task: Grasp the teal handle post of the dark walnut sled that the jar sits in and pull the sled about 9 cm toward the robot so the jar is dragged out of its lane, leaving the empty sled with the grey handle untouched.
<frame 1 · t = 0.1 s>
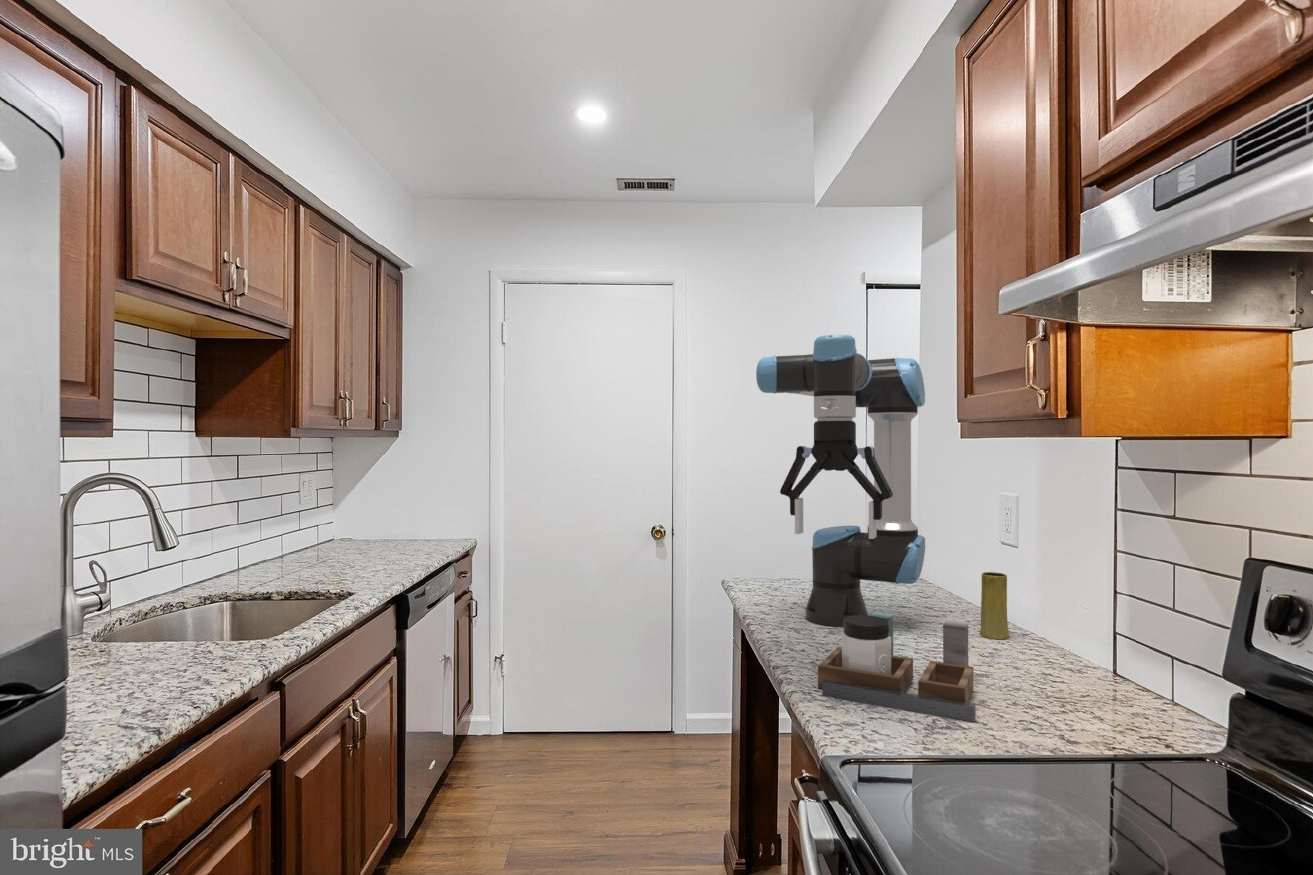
hand: (834, 535, 134), 28 cm above the countertop, fingers open, 13 cm apart
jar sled: (871, 651, 139), point 5 cm above the countertop, slide at 0.0 cm
end bar: (895, 706, 124), on the countertop
empty sled: (949, 661, 132), point 5 cm above the countertop, slide at 0.0 cm
vase: (994, 636, 168), on the countertop
jar: (866, 685, 136), resting in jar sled
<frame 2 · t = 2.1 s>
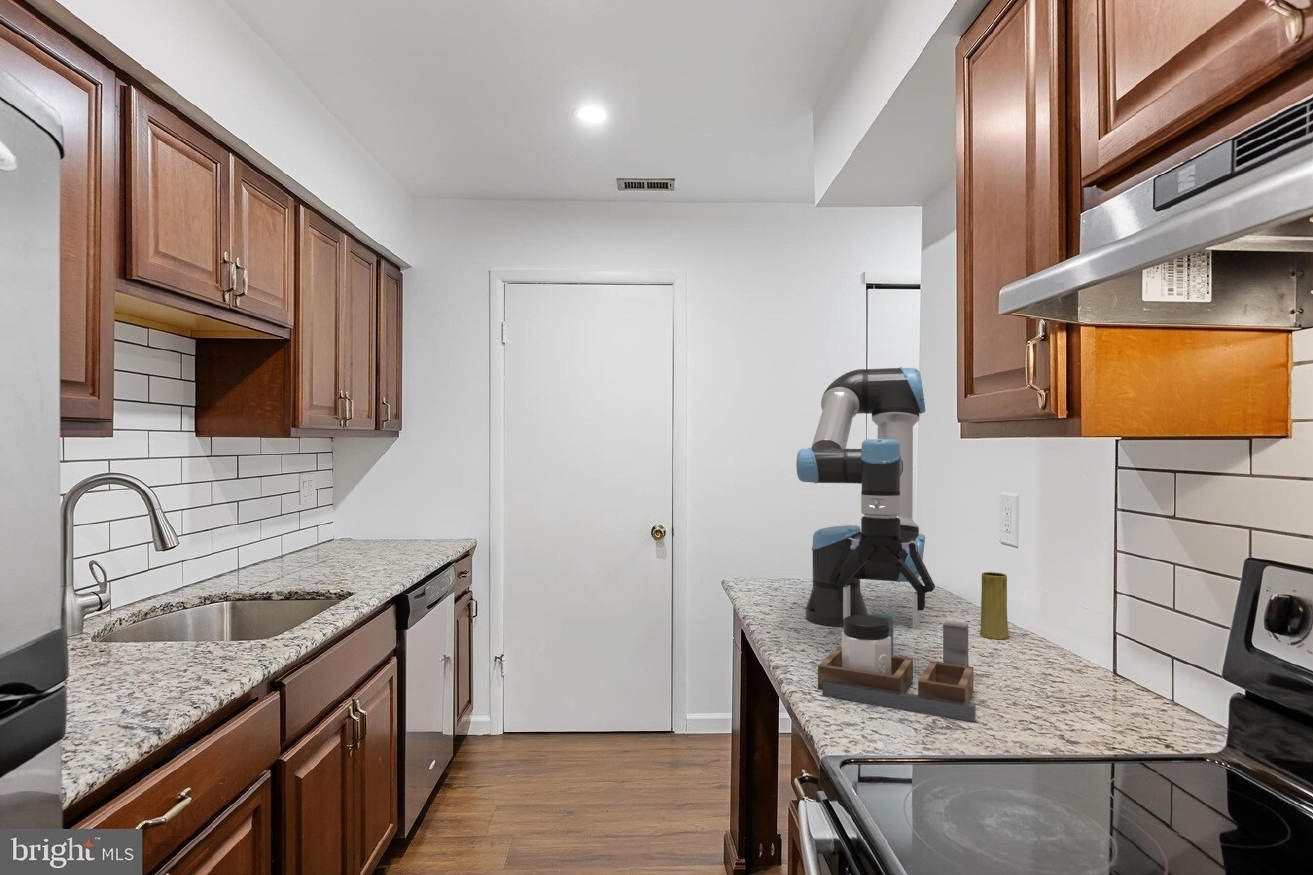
hand: (880, 622, 146), 9 cm above the countertop, fingers open, 13 cm apart
nothing on the countertop moved.
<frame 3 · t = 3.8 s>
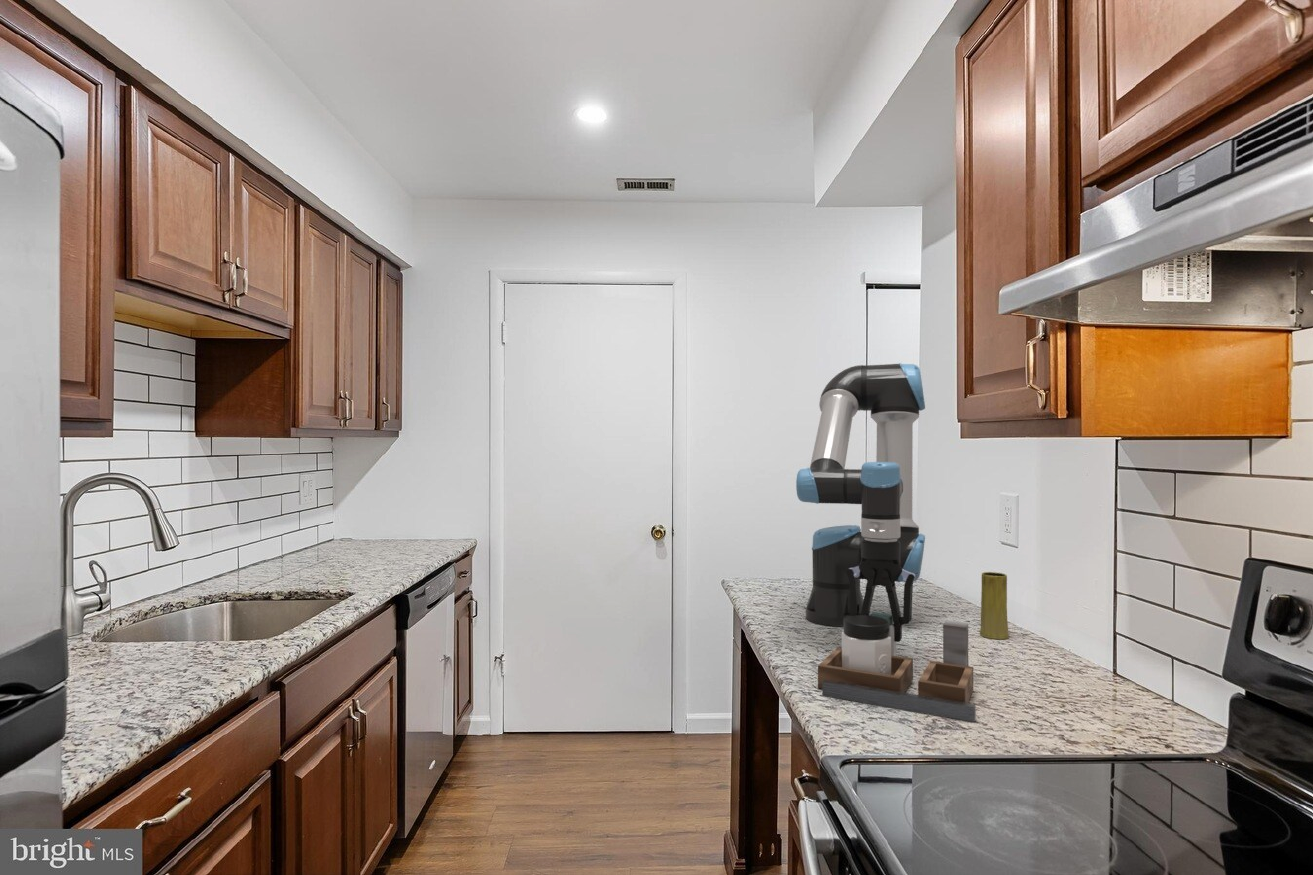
hand: (880, 655, 146), 2 cm above the countertop, fingers closed on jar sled, 4 cm apart
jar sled: (871, 651, 139), point 5 cm above the countertop, slide at 0.0 cm, touching gripper
everything else where it was.
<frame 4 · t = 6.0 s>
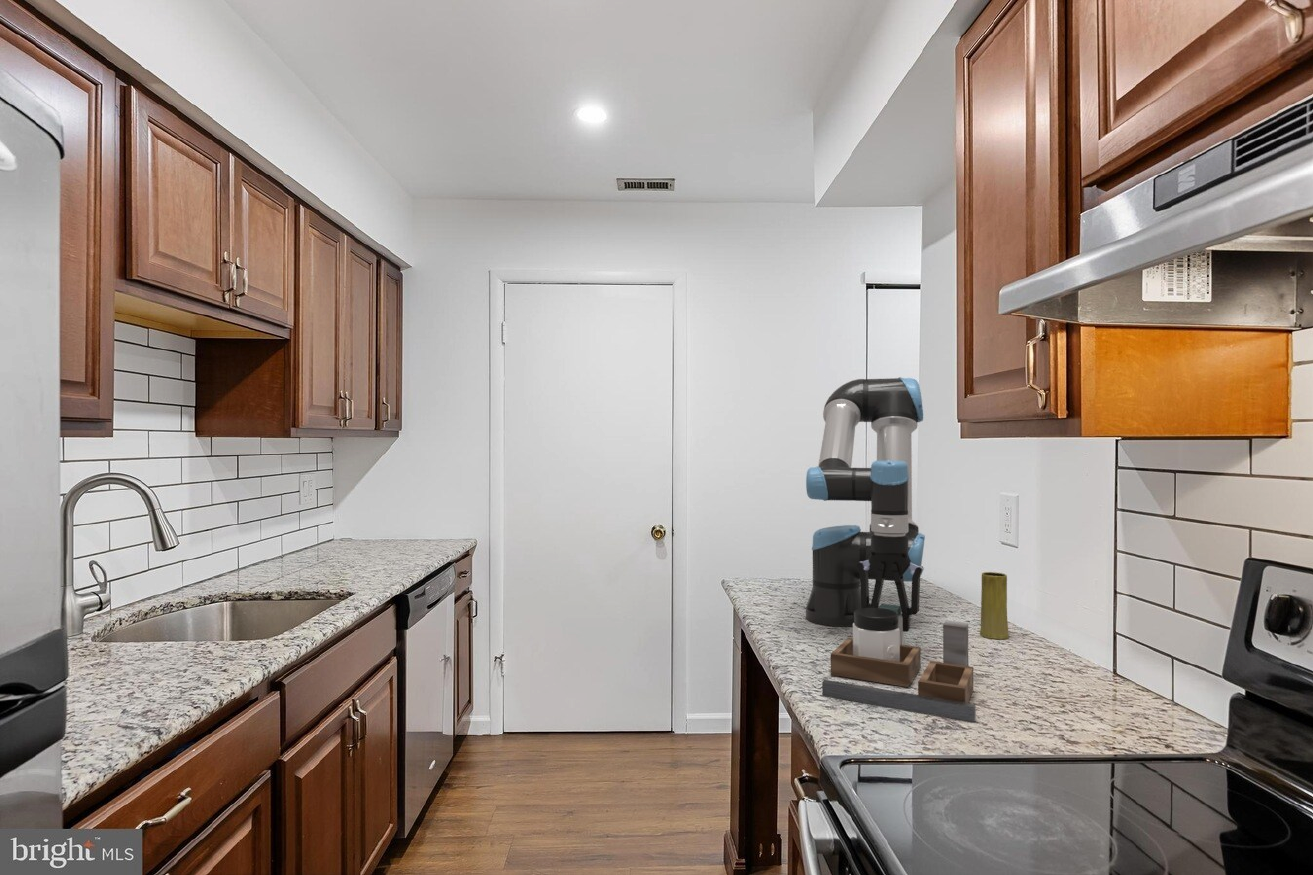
hand: (889, 644, 154), 2 cm above the countertop, fingers closed on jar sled, 4 cm apart
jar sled: (880, 640, 146), point 5 cm above the countertop, slide at 8.3 cm, touching gripper, jar
jar: (876, 675, 141), resting in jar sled
everything else where it was.
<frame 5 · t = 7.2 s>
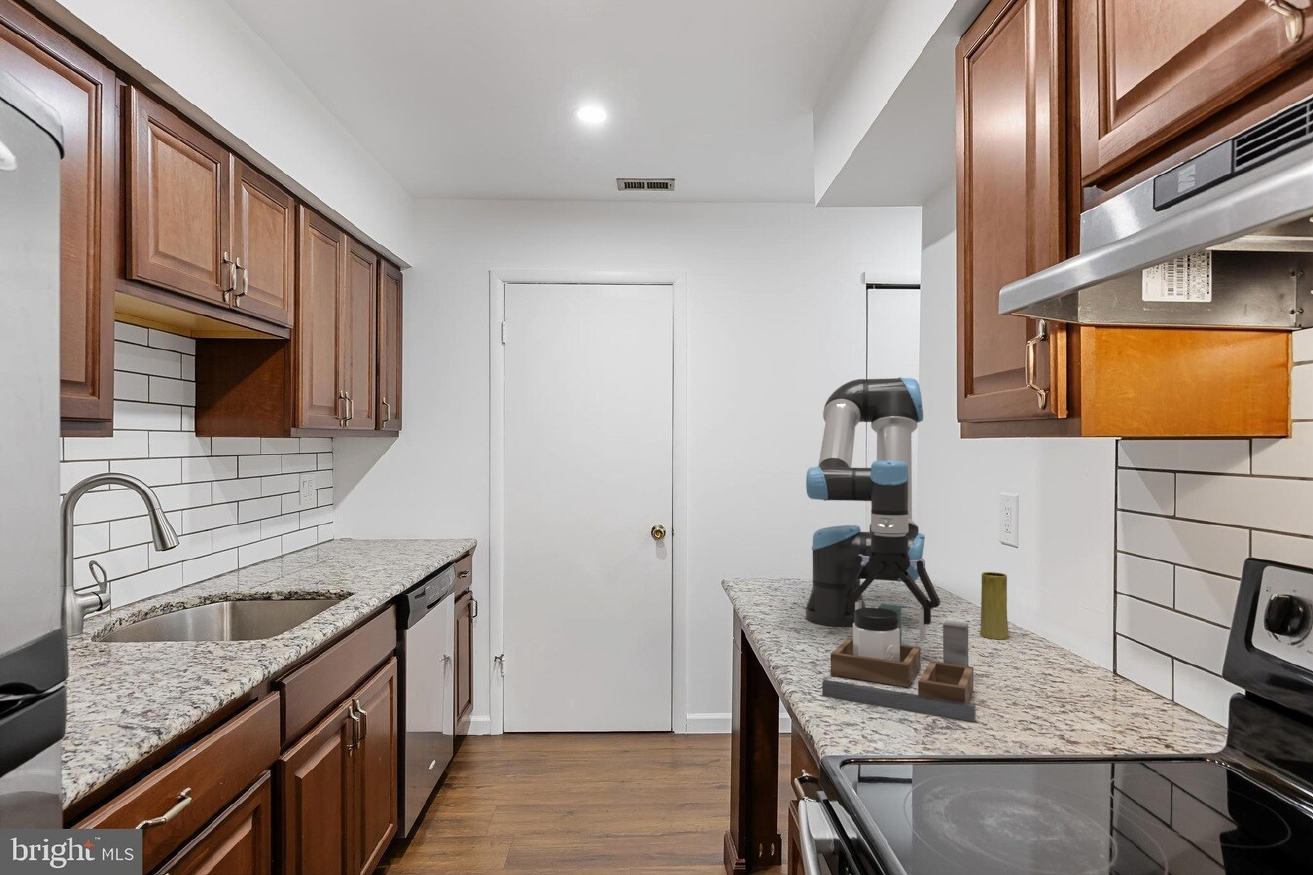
hand: (889, 635, 154), 4 cm above the countertop, fingers open, 12 cm apart
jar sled: (880, 640, 146), point 5 cm above the countertop, slide at 8.3 cm
jar: (876, 675, 141), resting in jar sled
everything else where it was.
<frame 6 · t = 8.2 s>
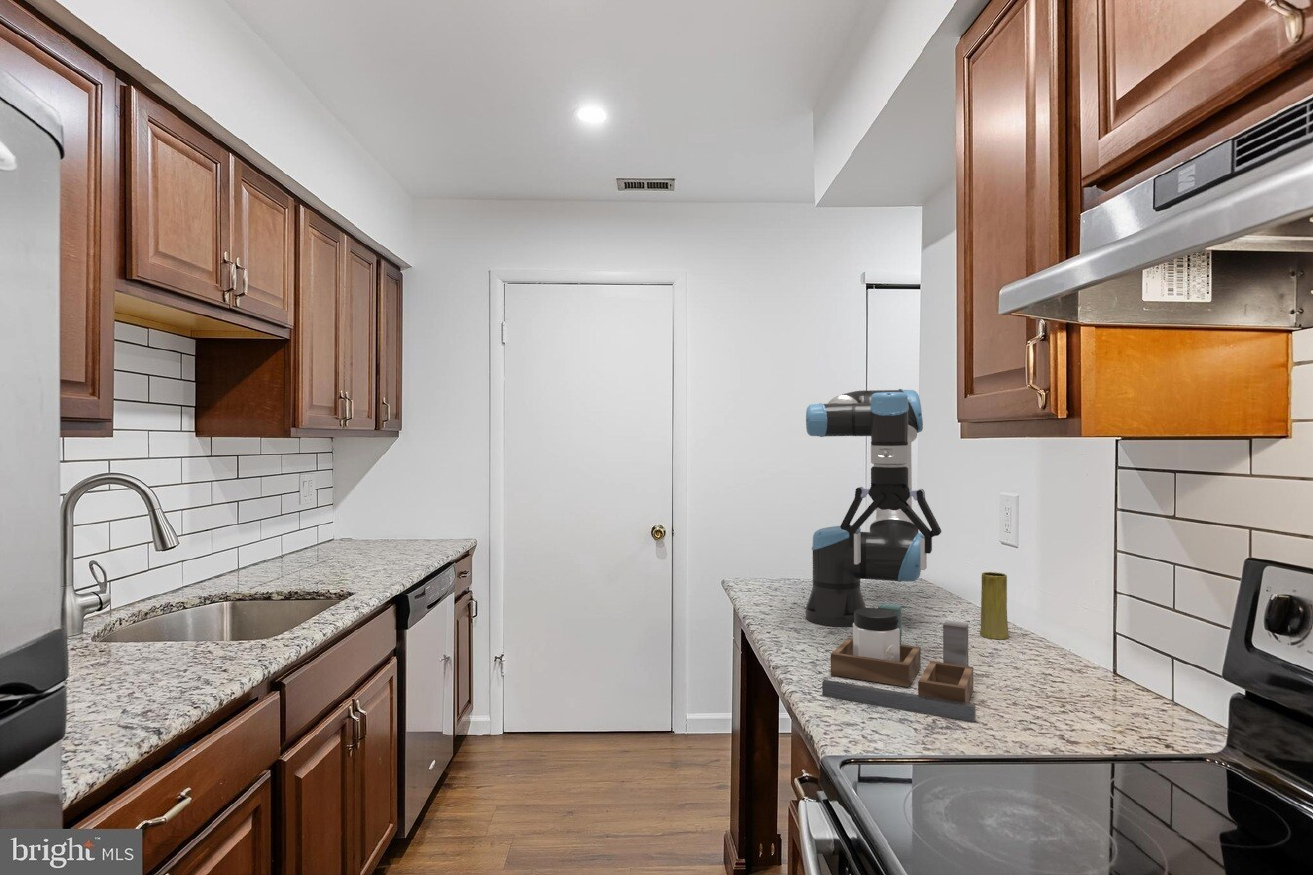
hand: (889, 566, 154), 19 cm above the countertop, fingers open, 13 cm apart
nothing on the countertop moved.
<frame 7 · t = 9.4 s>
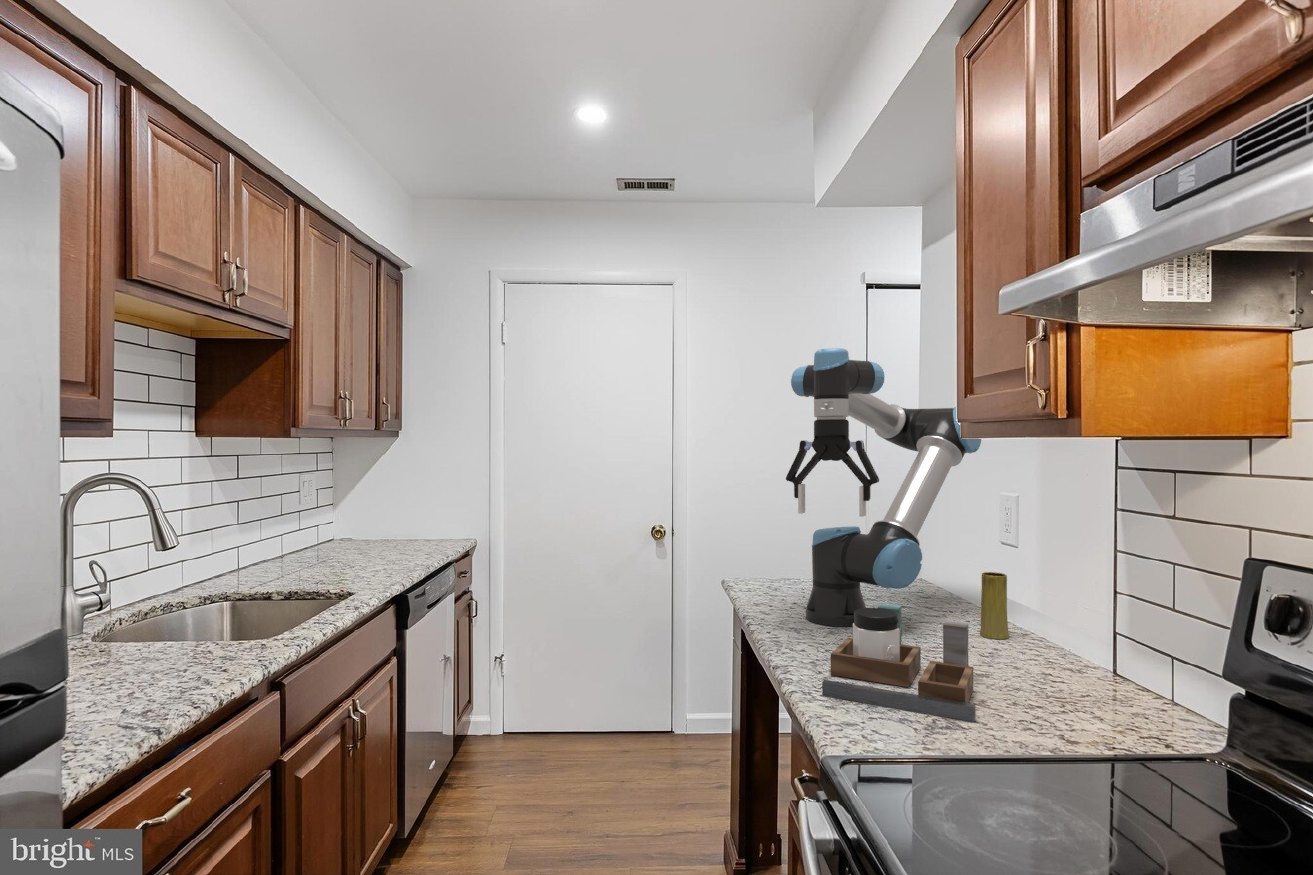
hand: (831, 514, 162), 29 cm above the countertop, fingers open, 13 cm apart
nothing on the countertop moved.
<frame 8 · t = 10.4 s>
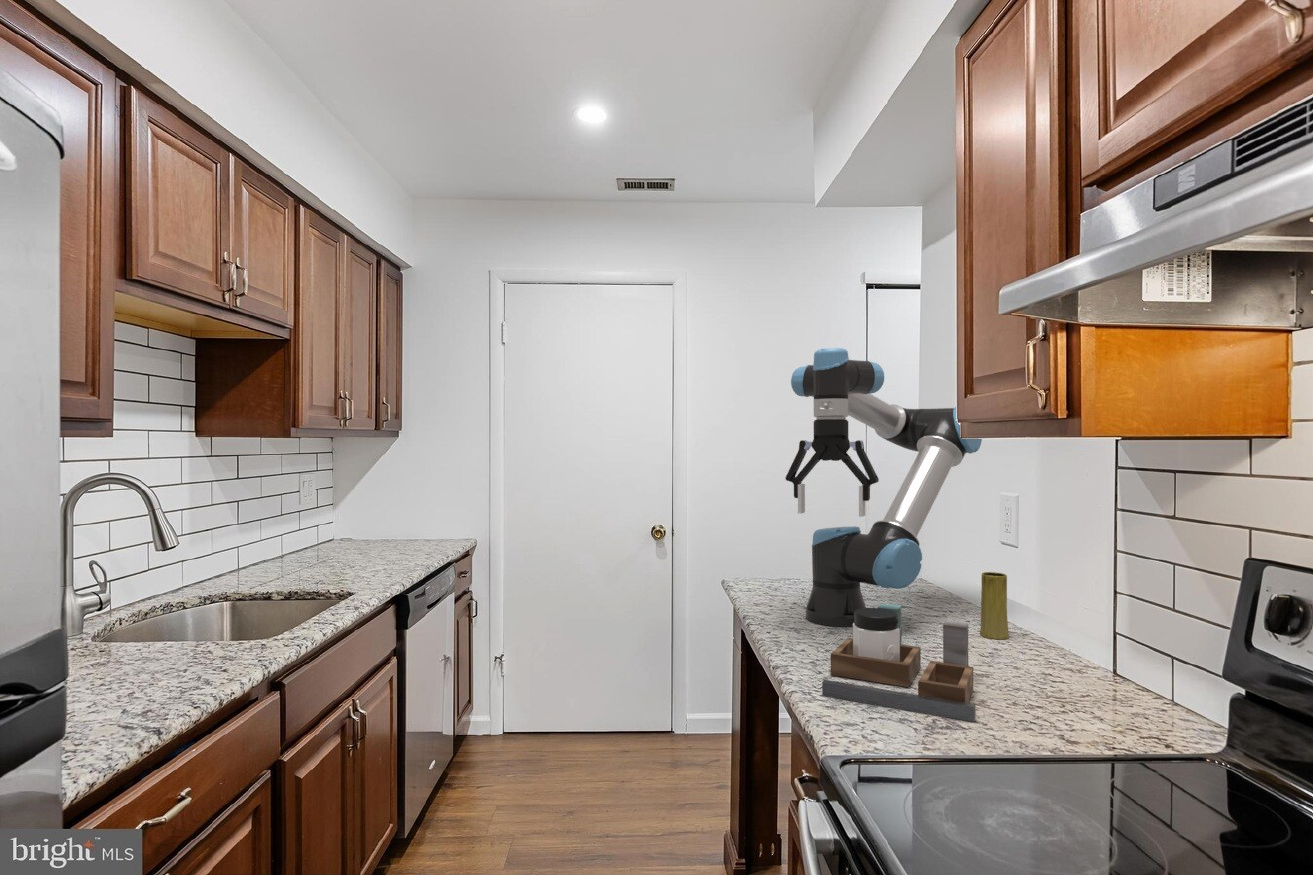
hand: (831, 514, 162), 29 cm above the countertop, fingers open, 13 cm apart
nothing on the countertop moved.
at the end: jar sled slide at 8.3 cm; jar moved 7.0 cm from its start; empty sled slide at 0.0 cm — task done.
